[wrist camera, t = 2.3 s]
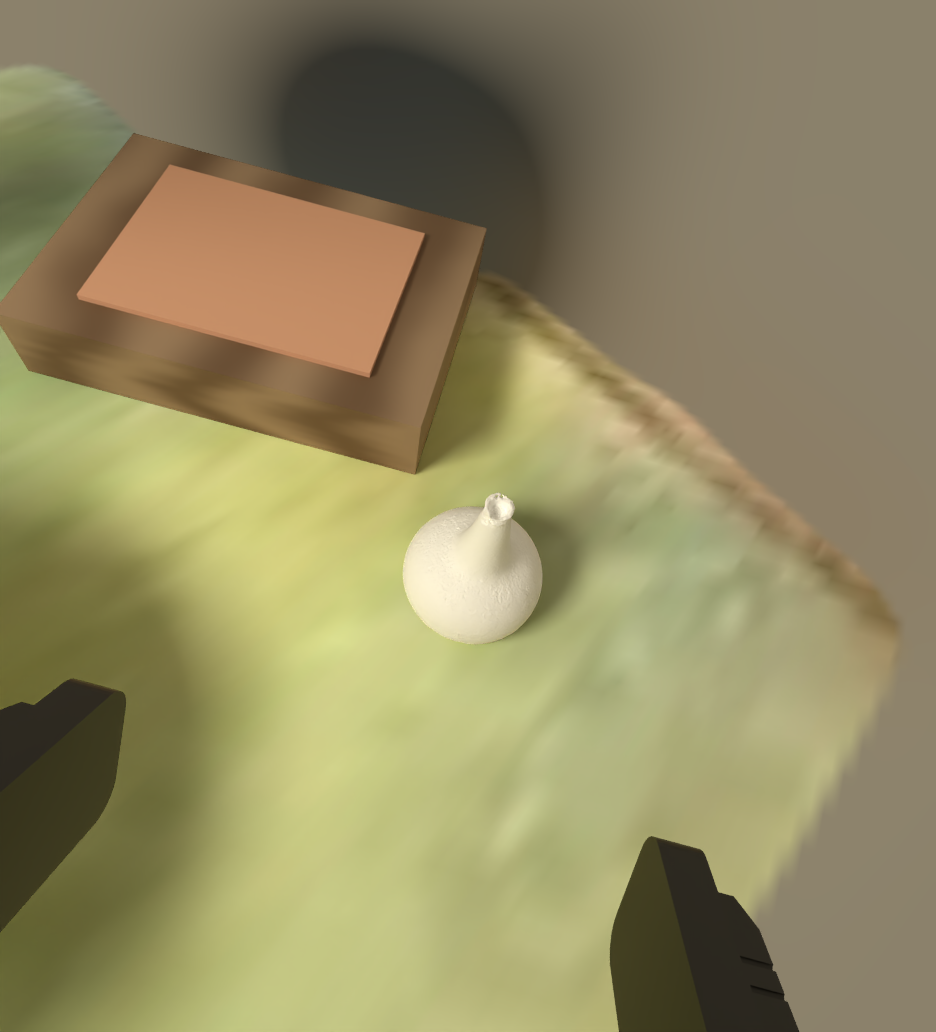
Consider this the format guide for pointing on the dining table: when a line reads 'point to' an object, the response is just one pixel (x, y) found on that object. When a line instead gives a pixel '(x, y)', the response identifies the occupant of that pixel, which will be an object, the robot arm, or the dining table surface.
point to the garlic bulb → (473, 573)
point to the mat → (258, 270)
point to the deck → (232, 365)
